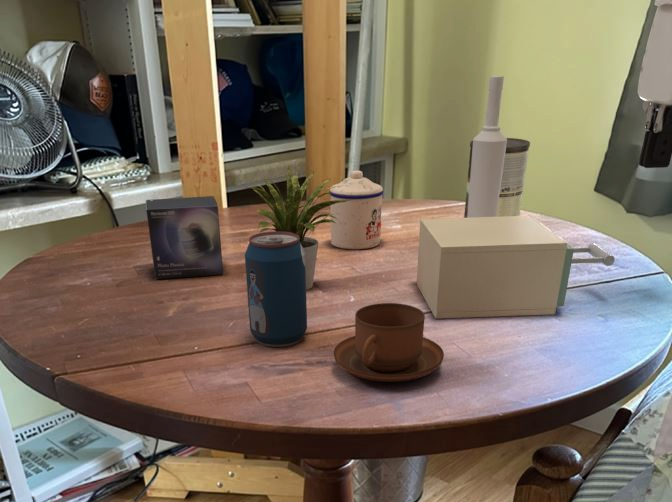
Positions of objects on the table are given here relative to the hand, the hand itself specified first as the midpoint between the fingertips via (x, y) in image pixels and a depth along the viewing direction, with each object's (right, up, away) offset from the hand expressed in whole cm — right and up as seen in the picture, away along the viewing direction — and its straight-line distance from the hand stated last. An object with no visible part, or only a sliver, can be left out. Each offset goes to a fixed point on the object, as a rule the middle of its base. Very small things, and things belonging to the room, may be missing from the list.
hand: (653, 166), depth 88 cm
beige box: (-20, -14, +8) cm, 26 cm away
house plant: (-46, -12, +14) cm, 49 cm away
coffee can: (-10, +8, +43) cm, 45 cm away
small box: (-62, -7, +22) cm, 66 cm away
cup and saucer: (-35, -27, -10) cm, 45 cm away
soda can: (-47, -22, -2) cm, 52 cm away
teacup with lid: (-35, +2, +35) cm, 49 cm away
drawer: (-14, -13, +8) cm, 21 cm away
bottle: (-15, 0, +30) cm, 34 cm away
